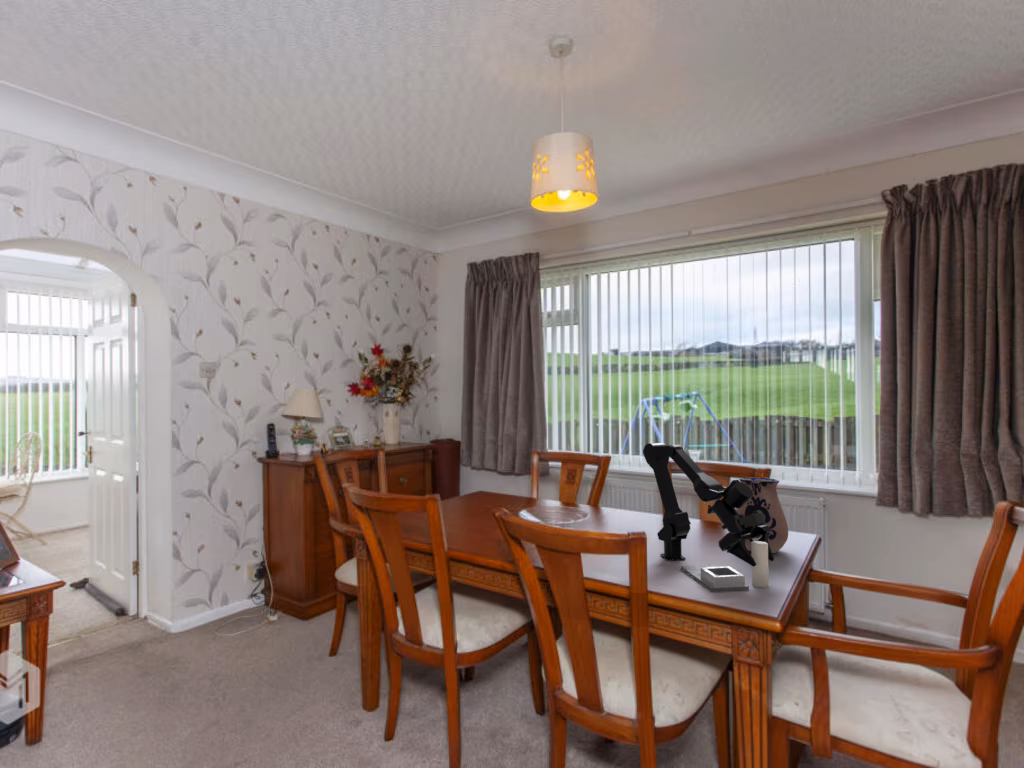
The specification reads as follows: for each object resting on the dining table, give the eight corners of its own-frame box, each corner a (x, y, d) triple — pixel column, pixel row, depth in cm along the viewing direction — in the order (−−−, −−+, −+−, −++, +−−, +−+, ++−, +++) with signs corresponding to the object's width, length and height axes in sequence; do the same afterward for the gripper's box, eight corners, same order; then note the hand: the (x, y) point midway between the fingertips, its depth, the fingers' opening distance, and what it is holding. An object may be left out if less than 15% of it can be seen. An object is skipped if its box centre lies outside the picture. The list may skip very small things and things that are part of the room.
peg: (748, 582, 160) (748, 541, 161) (763, 582, 161) (762, 540, 161) (757, 587, 156) (756, 545, 156) (771, 587, 156) (771, 544, 157)
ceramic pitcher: (731, 554, 189) (730, 481, 190) (737, 539, 208) (736, 473, 209) (788, 560, 181) (786, 484, 182) (789, 545, 200) (788, 476, 200)
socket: (680, 569, 173) (680, 556, 173) (713, 567, 175) (713, 554, 175) (711, 592, 153) (711, 577, 153) (748, 590, 154) (748, 575, 154)
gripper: (726, 505, 157) (763, 553, 148) (765, 498, 167) (801, 542, 158) (704, 527, 164) (737, 574, 154) (742, 519, 174) (776, 563, 164)
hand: (764, 563), depth 157 cm, fingers open, 8 cm apart
